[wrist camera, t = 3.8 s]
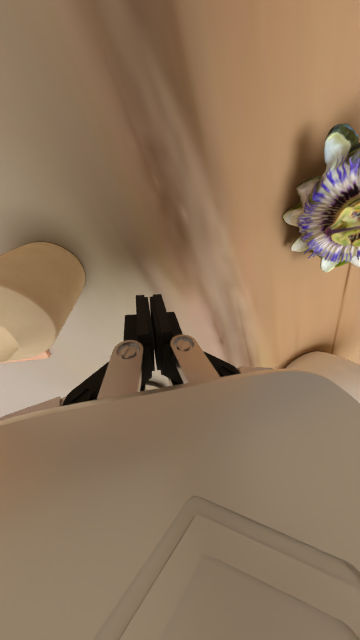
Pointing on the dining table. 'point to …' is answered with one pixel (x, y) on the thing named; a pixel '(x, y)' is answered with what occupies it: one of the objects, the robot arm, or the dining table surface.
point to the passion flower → (331, 204)
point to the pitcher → (331, 370)
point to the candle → (36, 297)
